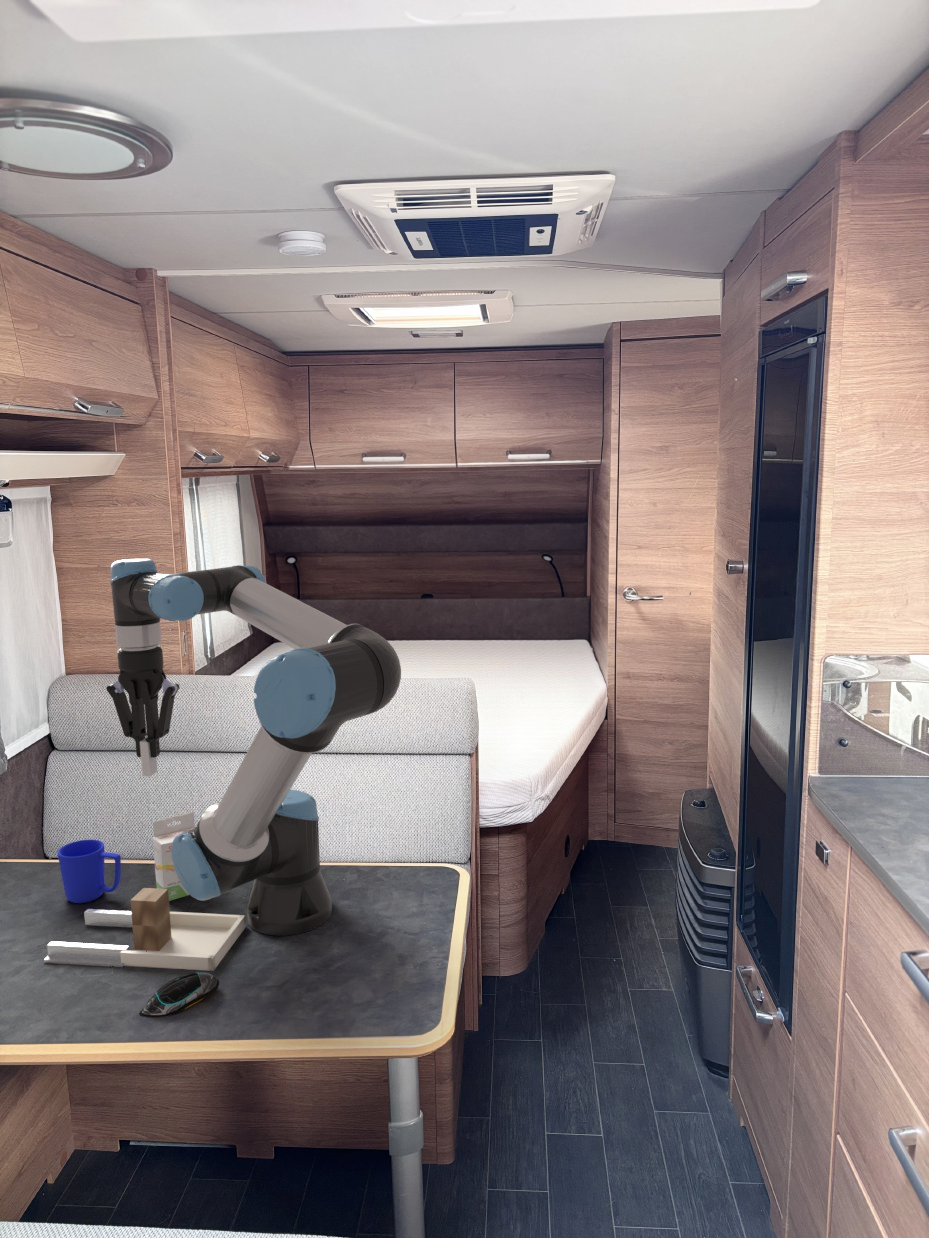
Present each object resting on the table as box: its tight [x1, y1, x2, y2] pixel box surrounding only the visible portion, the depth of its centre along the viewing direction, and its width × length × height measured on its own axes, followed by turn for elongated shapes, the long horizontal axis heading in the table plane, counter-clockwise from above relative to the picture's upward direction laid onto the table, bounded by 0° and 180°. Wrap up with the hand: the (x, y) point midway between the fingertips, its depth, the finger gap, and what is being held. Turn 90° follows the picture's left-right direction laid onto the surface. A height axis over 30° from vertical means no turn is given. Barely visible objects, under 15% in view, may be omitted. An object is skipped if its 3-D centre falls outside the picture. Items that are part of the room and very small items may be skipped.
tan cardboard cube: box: [131, 914, 171, 951], centre depth 152 cm, size 4×4×4 cm
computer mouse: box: [139, 971, 220, 1018], centre depth 136 cm, size 6×12×4 cm, turn 123°
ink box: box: [152, 812, 196, 902], centre depth 170 cm, size 9×5×15 cm, turn 127°
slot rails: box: [43, 908, 133, 968], centre depth 154 cm, size 14×15×2 cm
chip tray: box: [120, 911, 247, 972], centre depth 152 cm, size 16×14×2 cm
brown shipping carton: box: [130, 887, 171, 926], centre depth 152 cm, size 4×4×4 cm
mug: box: [57, 839, 122, 904], centre depth 169 cm, size 8×12×10 cm
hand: (150, 773), depth 161 cm, fingers closed
